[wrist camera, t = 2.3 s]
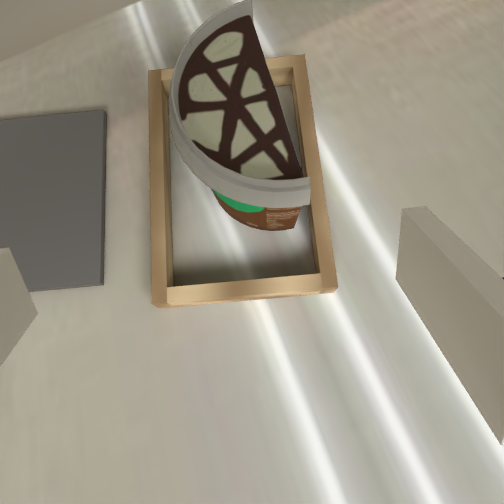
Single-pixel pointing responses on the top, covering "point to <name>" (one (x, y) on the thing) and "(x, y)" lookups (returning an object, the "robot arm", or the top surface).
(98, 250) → the charcoal mat
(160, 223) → the oak frame
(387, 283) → the top surface
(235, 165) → the food container
